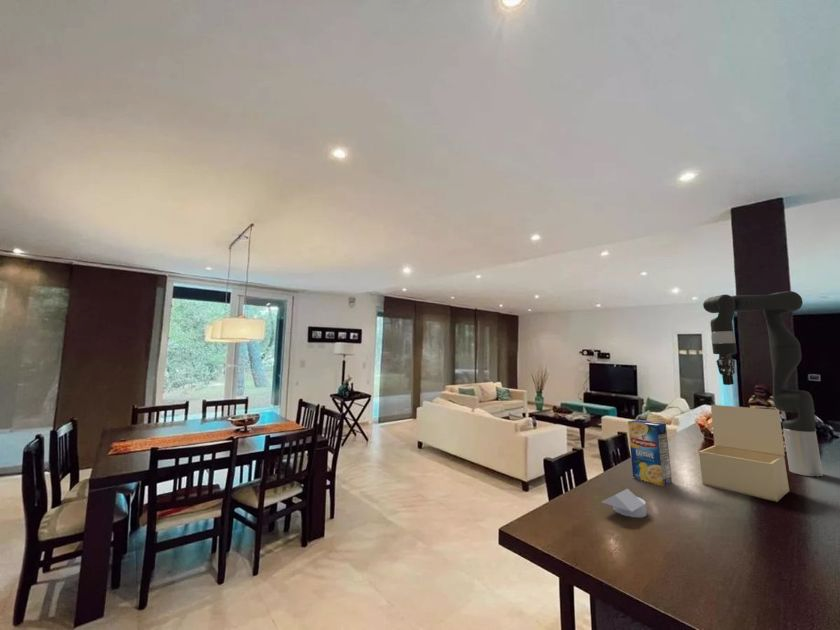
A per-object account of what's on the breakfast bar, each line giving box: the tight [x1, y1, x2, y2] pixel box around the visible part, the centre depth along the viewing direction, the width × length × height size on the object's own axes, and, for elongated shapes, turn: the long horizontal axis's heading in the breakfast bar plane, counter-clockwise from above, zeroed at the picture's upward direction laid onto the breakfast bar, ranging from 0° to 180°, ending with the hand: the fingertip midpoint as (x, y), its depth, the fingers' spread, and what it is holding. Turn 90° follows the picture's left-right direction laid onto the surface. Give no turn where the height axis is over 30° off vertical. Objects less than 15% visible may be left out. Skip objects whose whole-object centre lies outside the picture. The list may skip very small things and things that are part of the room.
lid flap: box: [710, 404, 786, 457], centre depth 136 cm, size 16×20×6 cm
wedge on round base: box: [601, 488, 647, 518], centre depth 109 cm, size 9×7×13 cm
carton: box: [698, 444, 790, 503], centre depth 128 cm, size 16×20×12 cm
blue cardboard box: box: [627, 419, 673, 487], centre depth 138 cm, size 7×11×22 cm, turn 30°
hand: (728, 384), depth 143 cm, fingers open, 3 cm apart
